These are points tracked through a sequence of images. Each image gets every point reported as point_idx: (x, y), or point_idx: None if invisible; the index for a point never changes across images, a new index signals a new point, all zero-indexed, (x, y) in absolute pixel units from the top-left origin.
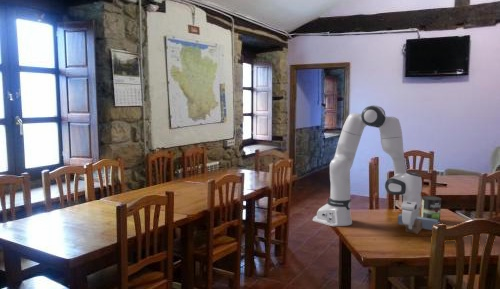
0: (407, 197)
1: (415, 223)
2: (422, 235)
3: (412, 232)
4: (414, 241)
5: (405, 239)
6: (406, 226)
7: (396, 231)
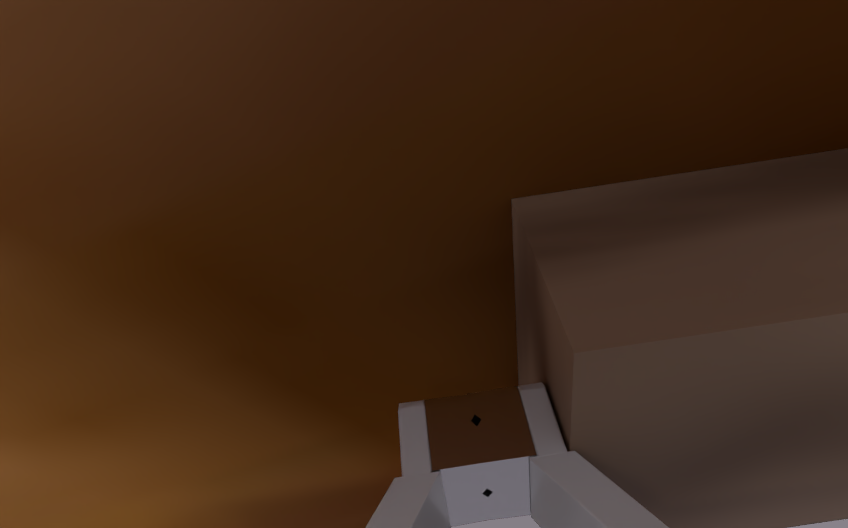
0: None
1: (744, 485)
2: None
3: (517, 338)
4: (79, 504)
5: (3, 401)
6: (546, 310)
7: (343, 23)
